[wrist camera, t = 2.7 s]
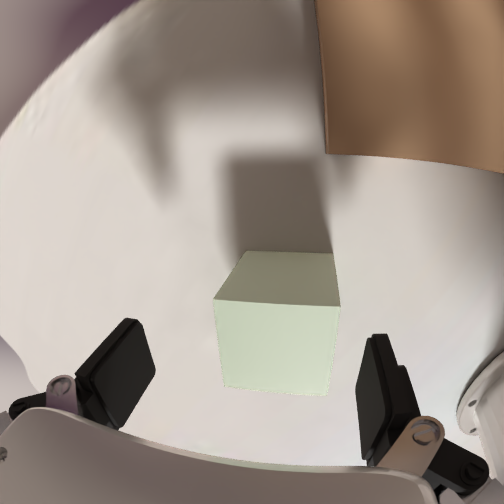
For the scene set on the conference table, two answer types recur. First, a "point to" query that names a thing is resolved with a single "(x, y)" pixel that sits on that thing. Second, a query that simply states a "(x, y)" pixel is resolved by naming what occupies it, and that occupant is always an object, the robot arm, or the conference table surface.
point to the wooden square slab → (414, 79)
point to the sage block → (279, 322)
